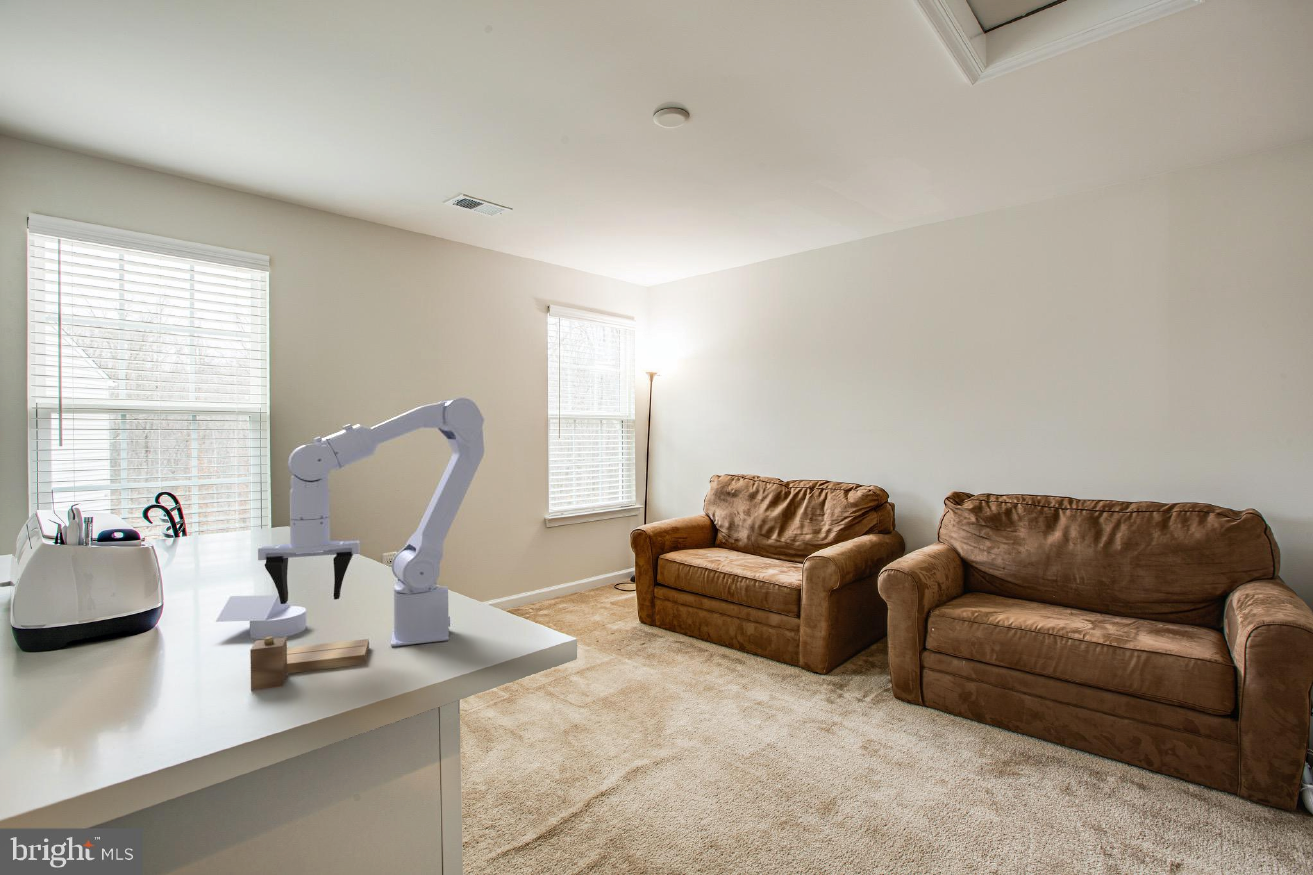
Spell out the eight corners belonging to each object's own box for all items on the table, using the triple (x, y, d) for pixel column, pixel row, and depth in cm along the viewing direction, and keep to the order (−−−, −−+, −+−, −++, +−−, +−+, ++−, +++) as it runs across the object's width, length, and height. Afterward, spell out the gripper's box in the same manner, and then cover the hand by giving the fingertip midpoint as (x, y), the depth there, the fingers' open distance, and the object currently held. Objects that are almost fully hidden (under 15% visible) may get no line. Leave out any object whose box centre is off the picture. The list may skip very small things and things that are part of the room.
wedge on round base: (215, 640, 111) (291, 638, 112) (215, 602, 111) (291, 601, 112) (244, 624, 120) (315, 622, 121) (244, 589, 120) (314, 588, 121)
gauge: (291, 664, 99) (291, 622, 99) (283, 686, 91) (282, 640, 91) (262, 668, 98) (262, 625, 98) (250, 691, 89) (250, 644, 89)
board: (368, 647, 107) (368, 638, 107) (364, 663, 100) (364, 654, 100) (271, 658, 102) (271, 649, 102) (259, 676, 94) (259, 666, 94)
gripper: (361, 512, 109) (361, 590, 109) (265, 516, 104) (265, 598, 104) (357, 517, 102) (357, 600, 102) (254, 522, 97) (255, 609, 97)
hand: (310, 600), depth 103 cm, fingers open, 7 cm apart
